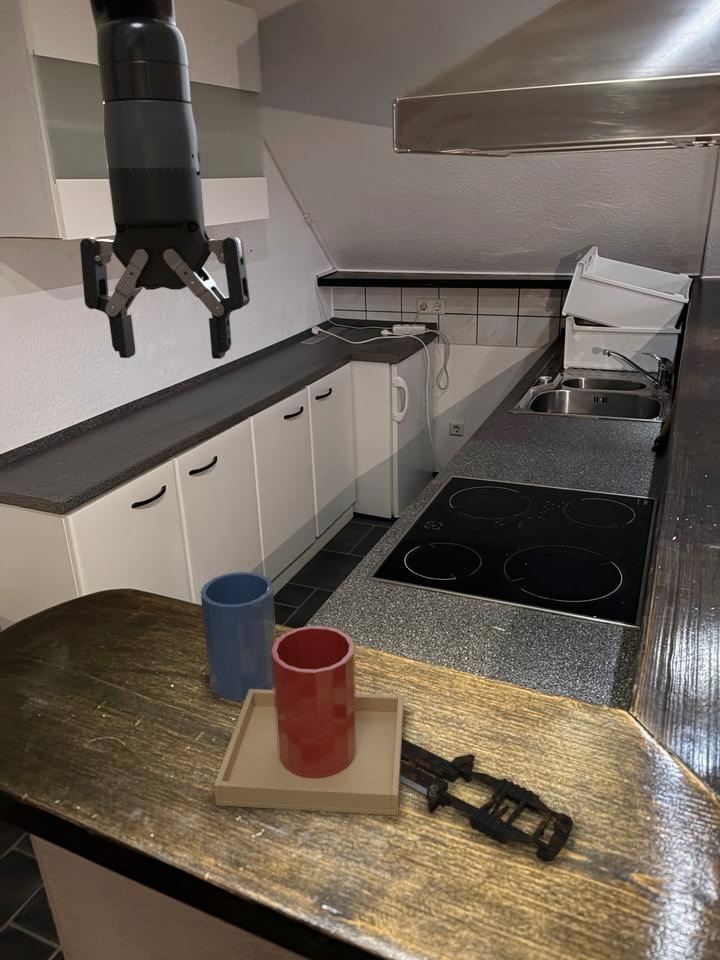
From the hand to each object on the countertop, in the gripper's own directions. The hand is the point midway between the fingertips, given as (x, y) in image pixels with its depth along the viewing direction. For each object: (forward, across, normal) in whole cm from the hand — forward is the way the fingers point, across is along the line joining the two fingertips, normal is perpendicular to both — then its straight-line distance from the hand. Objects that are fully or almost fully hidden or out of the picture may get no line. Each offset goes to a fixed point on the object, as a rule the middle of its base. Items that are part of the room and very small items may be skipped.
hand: (173, 356), depth 69 cm
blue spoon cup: (+30, +6, -6) cm, 31 cm away
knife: (+31, +23, -18) cm, 42 cm away
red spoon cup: (+30, +14, -16) cm, 37 cm away
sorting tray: (+30, +14, -16) cm, 37 cm away
